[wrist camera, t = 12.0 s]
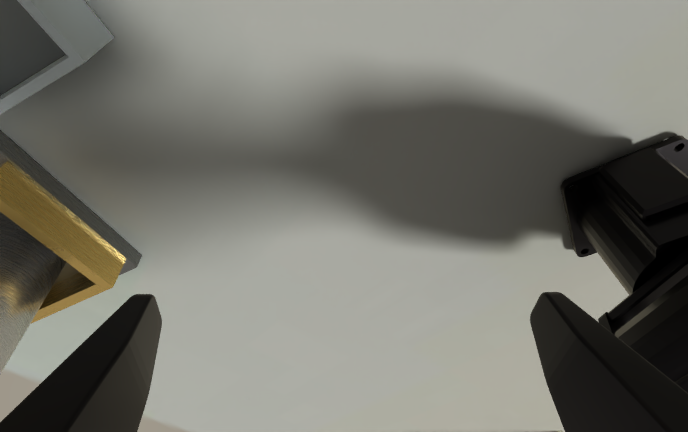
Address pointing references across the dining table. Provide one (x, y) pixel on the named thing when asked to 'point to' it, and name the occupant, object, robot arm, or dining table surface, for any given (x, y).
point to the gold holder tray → (61, 230)
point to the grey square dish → (60, 42)
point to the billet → (22, 282)
